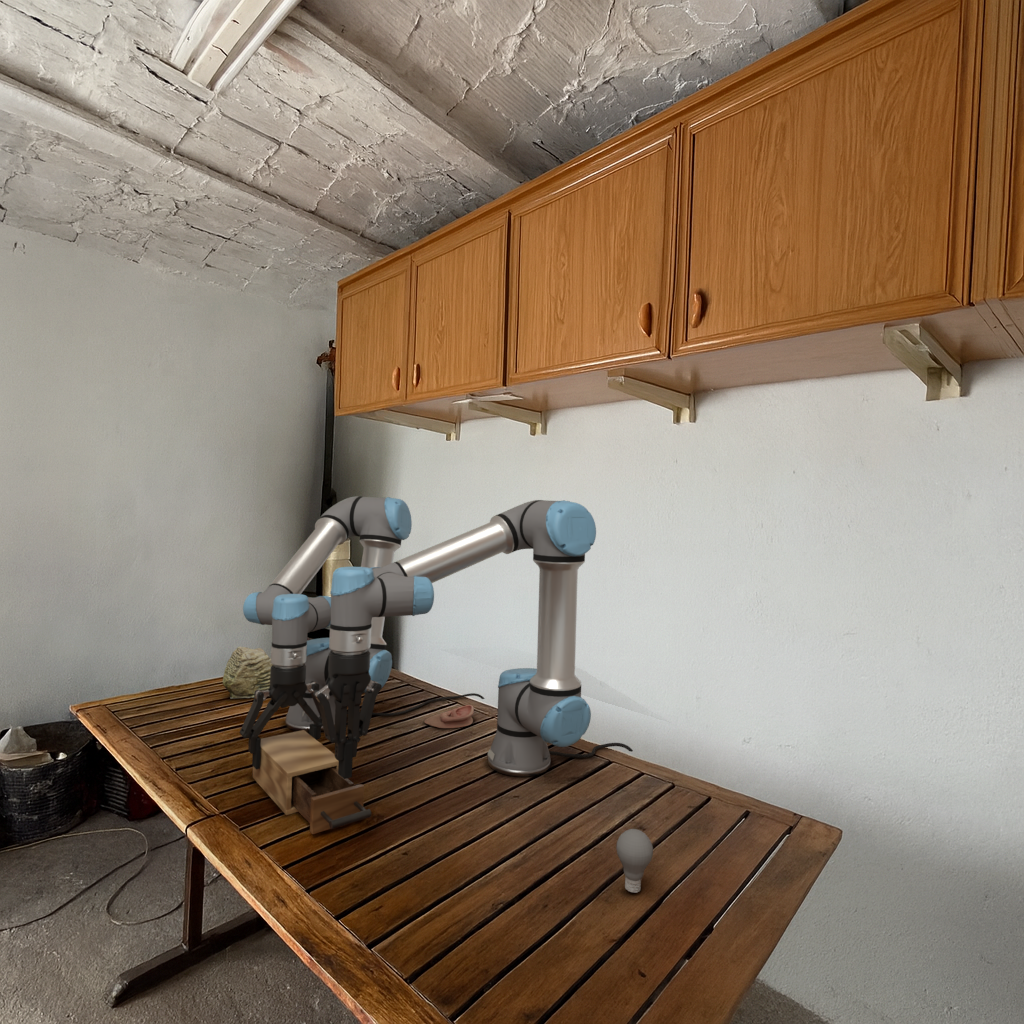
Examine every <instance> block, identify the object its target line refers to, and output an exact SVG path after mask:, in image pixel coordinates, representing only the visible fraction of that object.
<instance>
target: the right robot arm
mask: <svg viewBox="0 0 1024 1024" xmlns="http://www.w3.org/2000/svg"><path fill="white" fill-rule="evenodd" d="M596 538H597V527H596V521H595V518H594V517H593V515H592V513H591V512H590V511H589V510H588V509H587V508H586V507H585V506H584V505H582V504H580V503H578V502H574V501H570V500H547V499H546V500H544V499H534V500H530V501H527V502H523V503H522V504H518V505H516V506H514V507H512V508H510V509H507V510H505V511H503V512H501V513H498V514H496V515H493V516H492V517H491V518H490V520H489V522H488V523H485V524H483V525H481V526H478V527H476V528H473V529H470V530H469V531H466V532H464V533H461V534H459V535H456V536H454V537H451V538H449V539H447V540H444V541H442V542H440V543H437V544H435V545H432V546H430V547H428V548H425V549H422V550H420V551H418V552H416V553H415V552H414V553H413V554H411V555H409V556H406V557H403V558H400V559H399V560H397V561H393V563H391V564H389V565H386V566H384V567H372V568H367V567H361V566H341V567H337V568H336V569H334V570H333V573H332V579H331V589H330V597H331V623H330V626H329V637H328V638H329V648H330V649H331V650H332V651H331V652H330V653H329V664H328V672H329V676H328V679H327V680H326V686H324V687H323V688H322V689H321V690H320V691H318V690H316V691H314V693H313V696H314V697H315V699H316V700H317V702H318V704H319V709H320V714H321V719H322V724H323V728H324V731H323V733H324V737H325V739H326V740H327V741H329V742H330V743H331V744H334V754H335V758H336V759H337V760H338V761H339V765H338V774H339V775H340V776H341V777H342V778H344V779H347V778H348V779H350V778H353V760H354V759H353V758H356V757H357V755H358V743H359V742H360V741H361V738H362V737H366V736H367V735H368V733H369V728H370V725H371V721H372V717H373V715H372V713H374V709H375V704H376V700H377V697H378V695H379V693H380V691H381V690H382V689H383V687H382V686H381V684H379V683H377V682H375V681H372V680H371V676H370V674H369V669H370V652H369V650H368V649H369V648H370V646H371V627H372V624H371V621H372V617H385V618H387V617H403V616H404V617H405V616H407V617H409V616H412V617H415V616H419V615H426V614H428V613H429V612H430V611H431V610H432V608H433V606H434V603H435V590H434V589H435V588H434V585H433V583H436V582H439V581H441V580H443V579H445V578H447V577H450V576H452V575H454V574H457V573H459V572H460V571H463V570H466V569H468V568H470V567H472V566H475V565H476V564H479V563H481V562H484V561H486V560H488V559H491V558H492V557H495V556H497V555H499V554H502V553H503V554H505V555H509V554H512V553H514V552H517V551H520V550H531V549H532V561H533V562H534V563H535V565H536V566H538V570H539V575H538V578H539V579H538V581H539V582H538V614H537V615H538V616H537V647H536V648H537V649H536V653H537V654H536V668H534V667H533V668H531V667H522V668H521V667H520V668H510V669H507V670H504V671H502V672H501V673H500V674H499V678H498V684H497V688H498V689H497V690H498V693H497V717H496V719H497V721H496V732H495V735H494V737H493V741H492V743H491V746H490V748H489V749H488V752H487V765H488V766H489V767H490V769H492V770H494V771H495V772H497V773H499V774H502V775H505V776H506V775H507V776H510V777H521V778H522V777H525V778H526V777H534V776H539V775H541V774H544V773H546V772H548V771H549V769H550V767H551V756H556V757H557V756H558V757H563V758H572V759H587V758H591V757H593V756H594V755H595V754H596V752H597V750H600V749H605V748H610V747H611V748H612V747H619V748H624V749H625V750H627V751H628V752H633V751H634V750H633V749H632V748H631V747H630V746H629V745H627V744H625V743H623V742H609V743H603V744H598V745H595V746H594V747H593V748H592V749H591V752H589V753H585V754H581V753H580V754H579V753H578V754H577V753H565V752H560V751H553V750H549V746H548V744H551V745H553V746H555V747H558V748H566V747H570V746H572V745H575V744H576V743H577V742H579V741H580V740H581V738H582V737H583V736H584V735H585V734H586V732H587V731H588V729H589V726H590V723H591V719H592V711H591V708H590V705H589V704H588V703H587V701H586V699H585V698H582V681H581V680H580V678H579V677H578V676H577V675H576V651H577V650H576V646H577V615H578V614H577V610H578V573H579V569H580V567H582V566H583V565H584V564H585V563H586V554H587V553H588V552H590V551H591V547H592V546H594V544H595V541H596ZM381 688H382V689H381ZM365 689H366V692H365V693H363V692H364V691H365ZM329 692H331V694H332V695H333V696H334V698H335V727H334V722H333V717H332V712H331V707H330V703H329V701H328V699H329ZM363 694H364V695H363ZM362 695H363V699H362ZM347 712H348V715H347Z"/></svg>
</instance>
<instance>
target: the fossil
mask: <svg viewBox="0 0 1024 1024" xmlns="http://www.w3.org/2000/svg"><path fill="white" fill-rule="evenodd" d="M272 665H273V664H271V657H270V656H269V655H268V654H267V653H266V652H265V650H264V649H263V648H260V647H258V648H251V647H247V646H246V647H245V646H238V647H237V648H236V649H235V650H233V651H232V653H231V656H230V657H229V659H228V660H227V663H226V666H225V668H224V671H223V675H222V676H223V677H222V685H223V687H224V688H225V690H226V691H228V693H229V698H230V699H250V698H254V693H255V691H256V690H260V691H265V690H268V689H269V687H270V670H271V666H272Z"/></svg>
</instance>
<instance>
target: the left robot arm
mask: <svg viewBox="0 0 1024 1024" xmlns="http://www.w3.org/2000/svg"><path fill="white" fill-rule="evenodd" d="M412 522H413V521H412V514H411V510H410V507H409V506H408V504H407V503H406V501H404V500H403V499H401V498H397V497H390V496H387V497H385V496H384V497H383V496H380V497H379V496H362V495H361V496H360V495H359V496H358V495H357V496H350V497H347V498H345V499H342V500H340V501H337V503H335V504H333V505H332V506H331V507H329V508H328V509H327V510H326V511H324V513H322V514H321V516H320V517H319V518H318V519H317V520H316V522H315V524H314V529H313V531H312V532H311V533H310V534H309V536H308V537H307V539H305V541H304V542H303V543H302V544H301V546H300V547H299V548H298V550H296V552H295V553H294V554H293V556H291V558H290V560H289V561H288V562H287V563H286V564H285V565H284V567H283V568H282V569H281V570H280V572H279V573H278V574H277V575H276V577H275V578H274V579H273V580H272V581H271V583H270V584H269V585H268V586H267V588H266V589H265V590H264V591H263V592H262V591H257V592H256V591H255V592H252V593H249V594H248V595H247V596H246V598H245V600H244V602H243V605H242V612H243V616H244V618H245V619H246V620H247V621H248V622H250V623H253V624H258V625H262V626H265V625H267V626H271V649H270V658H271V664H273V665H272V666H271V670H270V687H269V689H268V690H265V691H260V690H256V691H255V693H254V697H253V701H252V703H251V706H250V708H249V710H248V712H247V715H246V717H245V719H244V721H243V724H242V726H241V728H240V730H239V735H240V736H241V737H242V738H243V739H248V744H247V745H248V746H247V747H248V748H247V750H248V752H249V754H250V755H251V754H252V755H251V756H252V757H251V764H252V767H253V766H254V768H255V769H260V749H261V739H262V738H261V737H260V736H259V735H261V733H262V731H263V730H264V729H265V728H266V726H267V724H268V723H269V721H270V720H271V718H272V717H273V716H274V714H275V713H277V712H278V711H279V709H280V708H281V709H285V708H287V707H289V708H288V711H287V713H286V715H285V726H286V728H287V729H289V730H291V731H294V732H297V731H302V730H304V731H306V732H307V733H308V734H310V735H311V736H312V737H313V738H315V739H316V740H317V741H318V740H320V739H321V736H322V732H324V728H323V724H322V719H321V714H320V709H319V704H318V702H317V700H316V699H315V697H314V696H313V693H314V691H316V690H318V691H320V690H321V689H322V688H323V687H324V686H326V680H327V679H328V676H329V672H328V664H329V653H330V652H331V651H332V650H331V649H330V648H329V638H330V637H320V638H319V637H318V638H313V639H308V634H309V633H311V632H315V631H318V630H322V629H326V628H328V627H330V623H331V596H328V595H318V596H316V597H310V596H307V595H306V594H302V593H303V592H304V591H305V590H306V588H307V587H308V585H309V584H310V583H311V581H312V580H313V579H314V577H315V576H316V575H317V573H318V572H319V571H320V569H321V568H322V567H323V565H325V563H326V561H327V560H328V558H329V557H330V556H331V555H332V554H333V552H334V551H335V549H336V548H337V547H338V546H340V545H343V544H344V543H345V542H346V541H347V539H350V538H353V537H359V543H360V544H361V546H362V547H363V550H362V558H361V564H360V567H367V568H372V567H384V566H386V565H389V564H391V563H394V557H395V553H396V551H398V550H399V549H400V548H401V547H402V541H405V540H407V539H408V538H409V537H410V534H411V533H412V525H413V523H412ZM385 618H386V617H372V621H371V624H372V627H371V646H370V648H369V649H368V650H369V652H370V669H369V674H370V676H371V680H372V681H375V682H377V683H379V684H381V686H382V688H381V690H382V689H383V688H384V686H385V685H386V683H387V682H388V680H389V678H390V675H391V671H392V667H393V659H392V658H393V656H392V653H391V652H390V651H388V650H387V642H386V641H385V640H384V638H383V632H384V626H385V620H386V619H385ZM365 692H366V689H365V691H364V692H363V694H365ZM471 696H473V697H478V698H480V699H481V700H485V697H484V696H483V695H481V694H479V693H476V692H475V693H474V692H473V693H465V694H460V695H453V696H452V695H451V696H442V697H437V698H432V699H429V700H426V701H424V702H421V703H420V704H418V705H415V706H413V707H410V708H408V709H405V710H400V711H397V712H373V713H372V716H379V717H381V716H382V717H390V716H399V715H403V714H407V713H410V712H412V711H414V710H416V709H419V708H422V707H423V706H425V705H428V704H430V703H433V702H437V701H444V700H453V699H462V698H465V697H471ZM267 697H269V698H270V700H269V701H268V702H267V705H266V707H265V709H264V710H263V711H262V712H261V709H262V707H263V704H264V702H265V701H266V700H267ZM328 701H329V703H330V707H331V712H332V717H333V722H334V727H335V698H334V696H333V695H332V694H331V692H329V699H328ZM260 712H261V714H260ZM259 714H260V715H259ZM258 716H259V717H258ZM347 716H348V711H347Z"/></svg>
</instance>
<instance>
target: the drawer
mask: <svg viewBox="0 0 1024 1024" xmlns="http://www.w3.org/2000/svg"><path fill="white" fill-rule="evenodd" d="M364 796H365V786H364V785H363V784H362V783H359V784H356V785H355V784H354V782H353V781H352V780H351V779H350V778H347V779H344V778H342V777H341V776H340V775H339V774H338V770H337V769H336V768H335V767H330V768H326V769H322V770H318V771H314V772H310V773H306V774H301V775H297V776H293V777H292V795H291V804H292V805H293V806H294V807H295V808H296V809H297V810H298V812H297V813H299V814H300V815H301V816H302V817H303V818H304V820H306V821H307V822H308V823H309V833H310V834H312V835H315V834H318V833H322V832H324V831H329V830H334V829H337V828H340V827H344V826H347V825H351V824H353V823H355V822H360V821H362V820H366V819H369V818H371V817H372V811H371V809H370V808H367V809H366V808H365V807H364V800H365V799H364Z"/></svg>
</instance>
